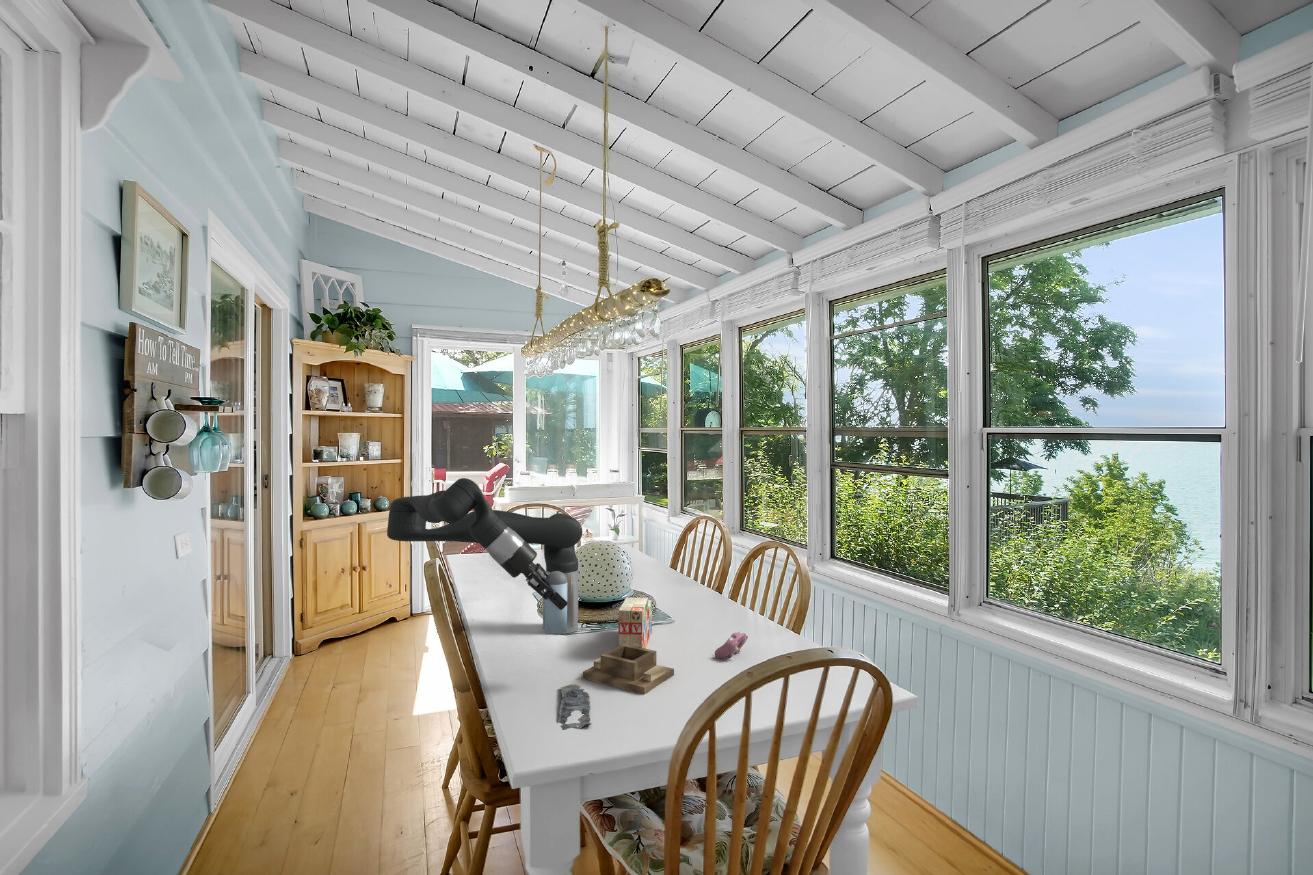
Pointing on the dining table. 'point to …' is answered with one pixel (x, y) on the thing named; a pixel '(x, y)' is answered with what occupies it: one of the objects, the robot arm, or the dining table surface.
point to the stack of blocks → (635, 622)
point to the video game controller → (731, 645)
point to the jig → (629, 669)
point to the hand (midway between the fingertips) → (564, 603)
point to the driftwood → (574, 706)
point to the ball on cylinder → (553, 614)
